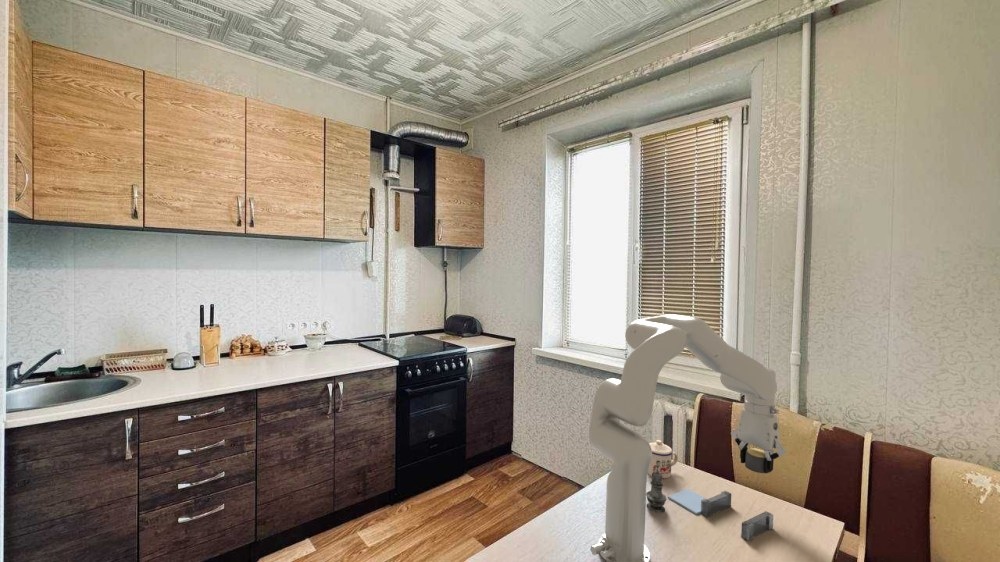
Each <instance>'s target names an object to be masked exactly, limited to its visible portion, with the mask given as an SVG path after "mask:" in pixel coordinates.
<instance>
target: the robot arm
mask: <svg viewBox="0 0 1000 562" xmlns="http://www.w3.org/2000/svg"><path fill="white" fill-rule="evenodd" d="M624 335H625V341H626V343H627V344H628V346H629V347H630V348H632V349H633V351H632V352H631V353H630V354H629V355H628V357H627V358H626V360H625V363H624V366H623V369H622V373H621V378H620V379H618V378H608V379H605V380H604V381H602V382H600V384H599V385H598V387H597V390H595V395H594V398H593V403H592V409H591V415H590V422H589V428H588V439H589V442H590V444H591V446H592V448H593V449H594V450H595V451H596V452H598V453H599V454H601V456H604V458H606V459H607V460H609V461H611V462H612V464H613V467H612V469H611V471H610V472H609V474H608V475H607V480H606V495H605V496H606V501H605V525H604V527H605V529H604V530H605V531H604V532H605V533H604V534H602V535H601V538H599V541H598V543H596V544H594V545H591V546H590V551H591V554H592V555H594V556H596V555H598V554H600V556H601V558H603V560H604V561H606V562H651V553H650V550H649V548H648V547H647V546H646V544H645V534H646V533H645V532H646V531H645V530H646V527H645V526H646V508H647V503H646V502H647V501H646V500H647V496H646V493H647V482H648V475H649V474H648V470H649V466H650V463H651V458H652V449H651V446H650V444H649V443H650V441H648V439H646V437H645V436H644V435H643V434H642V433H639V432H638V431H636V430H634V429H632V428H631V427H629V426H626V425H625V424H622V423H621V421H622V422H624V423H626V424H629V425H630V426H633V427H644V426H646V425H647V424H649V421H650V420H651V417H652V412H653V408H654V403H655V396H656V390H657V383H658V379H659V376H660V373H661V371H662V370H663V368H664V367H665V365H666V364H668V362H670V361H672V360H673V359H674V358H676V357H677V356H679V355H681V354H682V352H683V351H684V349H687V350H688V352H689V353H691V354H692V355H693V356H695V358H696V359H698V360H699V362H701V363H702V364H703V365H704V366H705V367H706V368H709V369H711V370H712V371H715V372H716V373H719V374H720V375H719V376H720V377H719V380H720V383H721V384H722V386H723V387H724V388H725V389H727V390H730V391H732V392H734V393H739V394H741V395H744V402H743V403H744V406H743V408H742V409H741V412H740V414H739V418H738V419H739V420H738V424H737V428H735V430H733V431H731V432H730V435H731V436H732V438H733V439H734V441H735V443H736V445H737V446H738V449H739V450H740V452H739V459H740V463H741V464H745V457H746V450H747V449H749V448H748V447H749V445H750V446H754V447H756V448H758V449H759V448H760V450H763V451H764V452H765V455H766V459H765V460H764V473H763V474H768V473H772V471H773V470H774V460H776V459H777V458H779V457H781V456H784V455H786V454H787V450H786V449H785V447H784V446H783V445H782V443H781V442H780V438H781V437H780V425H779V421H778V420H779V419H778V416H777V415H778V414H779V413H780V411H779V409H777V408H776V407H775V406H776V405H775V397H776V396H775V395H776V394H777V391H778V385H777V383H778V382H777V381H776V378H777V376H776V375H777V374H776V372H775V370H774V369H773V368H770V367H766V366H764V365H763V364H762V363H761V362H759V361H758V360H757V359H754V358H753V357H751V356H749V355H747V354H745V353H744V352H742V351H741V350H739V349H737V348H736V347H733V346H731V345H730V344H728V343H727V342H726V341H725V339H723V338H722V337H721V336H720V335H719V334H718V333H717V332H716V331H715V330H714V329H713V328H712V327H711V326H710V325H709V324H707V322H706V321H704V319H701V318H700V317H696V316H689V315H683V314H674V313H673V314H671V313H670V314H663V315H656V316H652V317H646V318H639V319H636V320H634V321H632V322H631V323H629V325H628V326H627V328H626V329H625V334H624ZM775 449H777V451H776V452H775V451H774V450H775Z"/></svg>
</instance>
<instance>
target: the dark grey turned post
mask: <svg viewBox="0 0 1000 562" xmlns="http://www.w3.org/2000/svg"><path fill="white" fill-rule="evenodd" d="M650 485H651V487H650V488H651V489H650V491H646V500H647V502H648V503H646V508H647V509H648V510H649V511H650V512H653V513H656V514H662V513H665V512H666V508H665V507H664V505H665V504H666V501H667V500H668V497H666V495H665V494H663V487H664V484H663V479H662V474H661V473H660V472H658V469H657V470H656V471H654V472H653V473H652V476H651V481H650Z"/></svg>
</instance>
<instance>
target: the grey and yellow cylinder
mask: <svg viewBox="0 0 1000 562" xmlns="http://www.w3.org/2000/svg"><path fill="white" fill-rule="evenodd" d="M765 459H766V455H765V452H764V449H761V448H760V449H759V448H755V447H754V448H753V447H749V448H748V449H747V450H746V457H745V463H744V466H745V468H747V470H749V471H752V472H754V473H758V474H765V473H764V460H765Z"/></svg>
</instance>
